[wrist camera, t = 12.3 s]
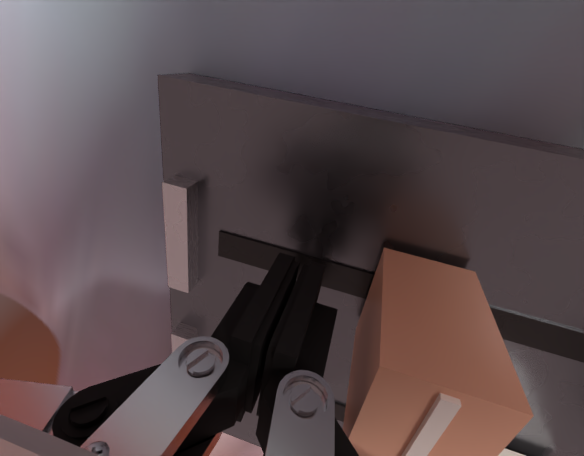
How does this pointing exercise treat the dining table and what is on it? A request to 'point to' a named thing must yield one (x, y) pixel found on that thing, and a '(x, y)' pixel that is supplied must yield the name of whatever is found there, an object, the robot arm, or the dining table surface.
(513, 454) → the fader ivory
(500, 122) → the dining table surface
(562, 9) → the dining table surface
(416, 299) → the fader terracotta
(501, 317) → the console
